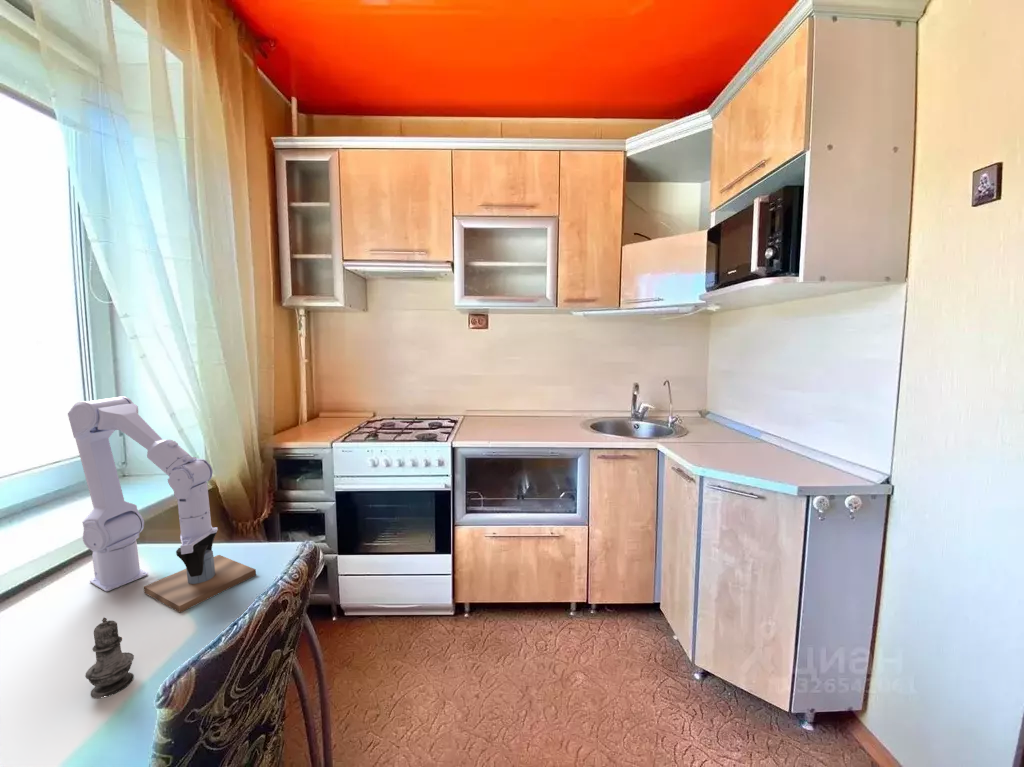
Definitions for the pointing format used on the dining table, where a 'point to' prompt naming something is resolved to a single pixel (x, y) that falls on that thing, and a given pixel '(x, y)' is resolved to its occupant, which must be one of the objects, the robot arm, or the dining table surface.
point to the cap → (204, 569)
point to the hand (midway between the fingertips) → (200, 569)
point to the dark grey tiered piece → (109, 662)
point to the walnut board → (198, 584)
